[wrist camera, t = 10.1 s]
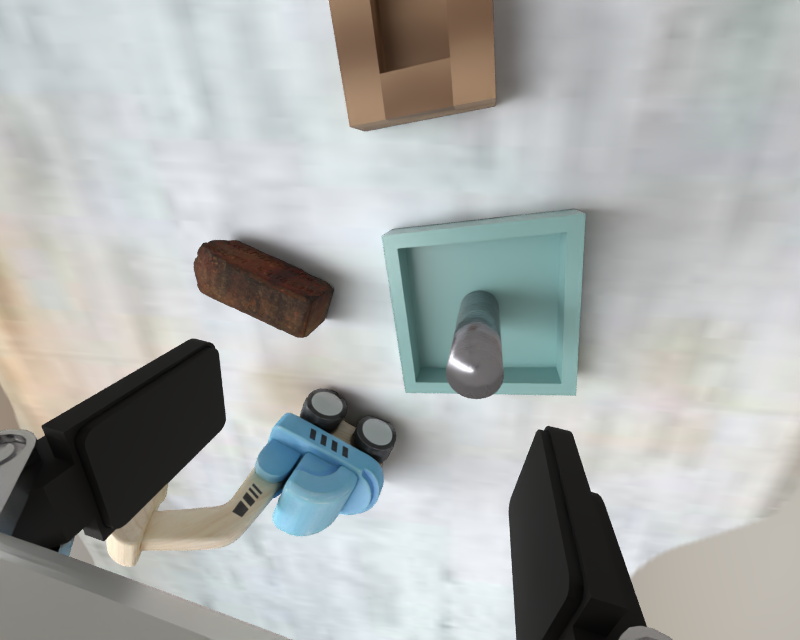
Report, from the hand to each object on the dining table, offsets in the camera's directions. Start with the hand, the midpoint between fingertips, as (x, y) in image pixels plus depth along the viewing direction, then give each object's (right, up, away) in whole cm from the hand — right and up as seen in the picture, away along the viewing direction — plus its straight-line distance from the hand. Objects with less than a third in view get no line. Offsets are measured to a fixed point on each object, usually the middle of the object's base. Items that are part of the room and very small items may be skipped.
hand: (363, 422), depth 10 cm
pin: (+7, +4, +17) cm, 19 cm away
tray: (+8, +4, +18) cm, 20 cm away
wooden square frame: (+2, +21, +12) cm, 24 cm away
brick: (-10, +7, +22) cm, 25 cm away
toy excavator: (-7, -7, +27) cm, 29 cm away
